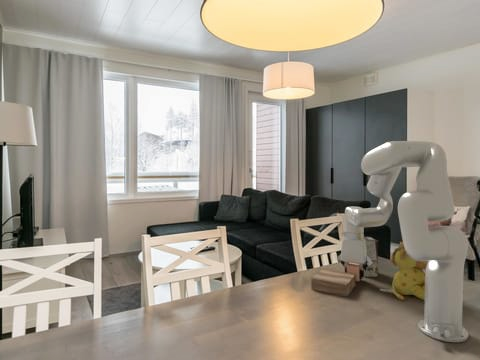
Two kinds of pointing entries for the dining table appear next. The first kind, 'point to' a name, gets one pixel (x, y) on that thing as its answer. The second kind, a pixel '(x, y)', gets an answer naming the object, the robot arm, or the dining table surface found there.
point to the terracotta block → (354, 270)
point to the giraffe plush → (407, 275)
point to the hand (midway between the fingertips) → (354, 277)
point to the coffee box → (371, 257)
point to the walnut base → (333, 282)
